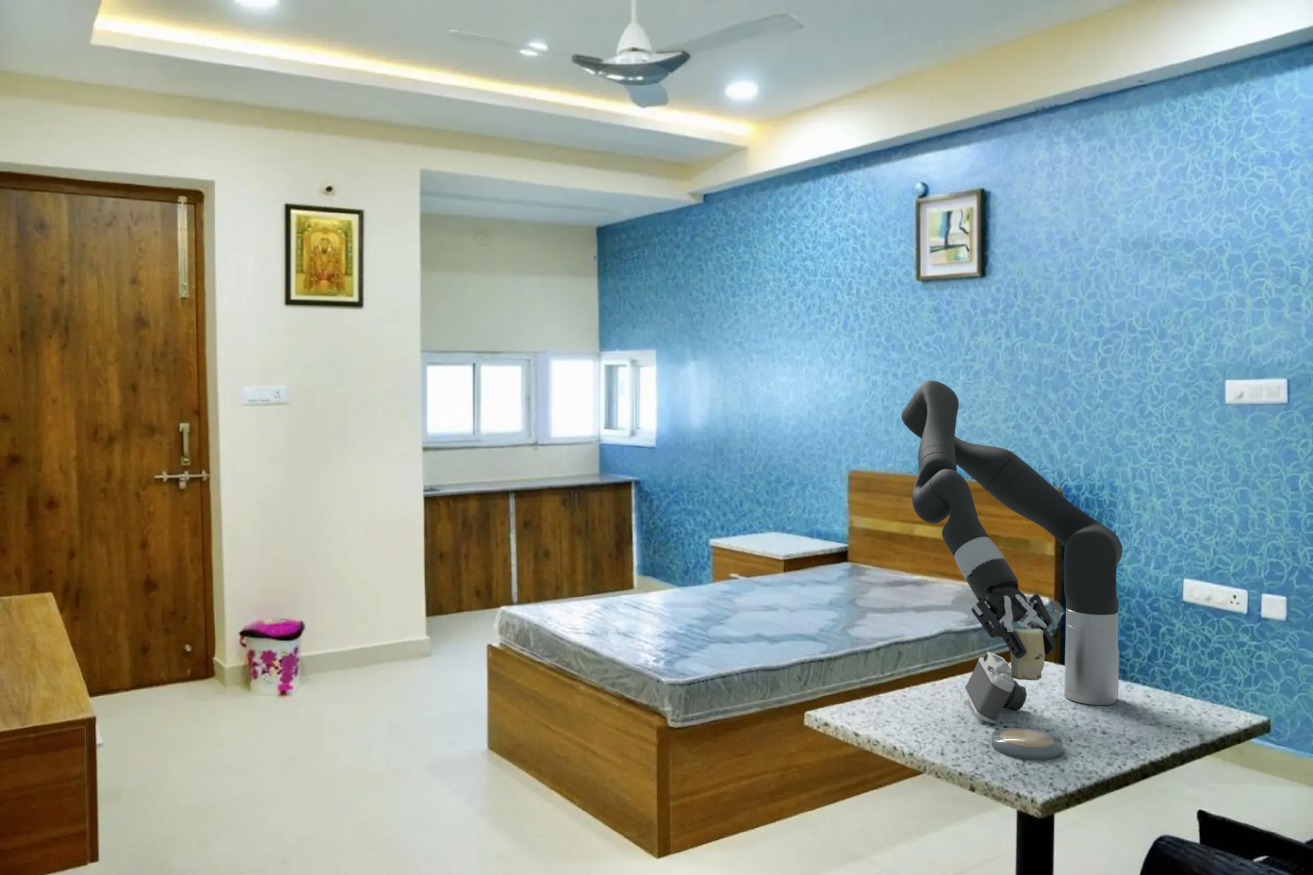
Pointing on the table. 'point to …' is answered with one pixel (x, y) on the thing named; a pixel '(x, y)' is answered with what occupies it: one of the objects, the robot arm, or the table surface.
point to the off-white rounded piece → (1029, 655)
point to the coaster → (1027, 743)
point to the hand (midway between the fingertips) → (1036, 653)
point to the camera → (993, 688)
